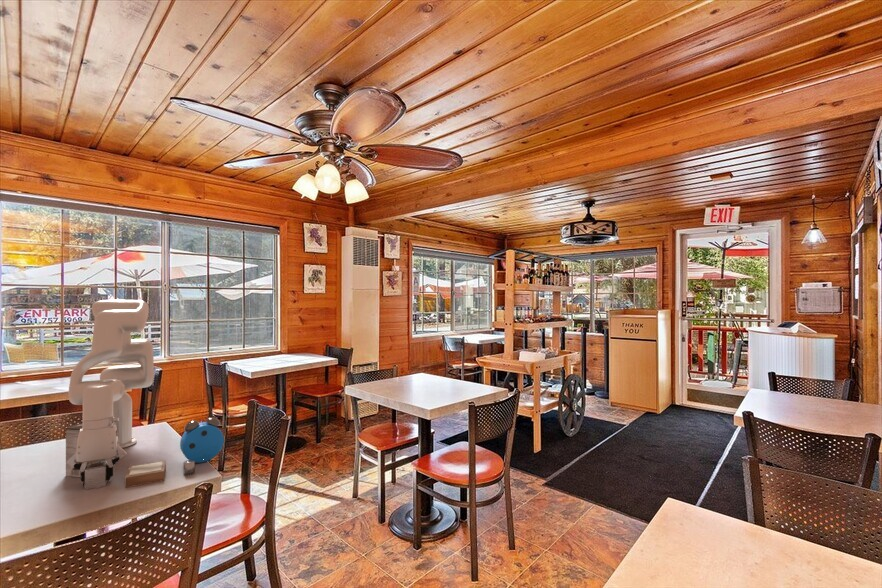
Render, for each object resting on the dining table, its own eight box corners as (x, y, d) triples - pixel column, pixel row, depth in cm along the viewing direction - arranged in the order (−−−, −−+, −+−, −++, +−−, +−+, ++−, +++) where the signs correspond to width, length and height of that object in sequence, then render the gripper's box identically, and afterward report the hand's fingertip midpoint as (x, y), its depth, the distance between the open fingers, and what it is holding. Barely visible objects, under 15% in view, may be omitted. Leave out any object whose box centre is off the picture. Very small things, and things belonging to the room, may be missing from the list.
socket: (183, 473, 141) (183, 461, 141) (194, 471, 143) (194, 459, 143) (183, 476, 139) (183, 464, 139) (194, 474, 140) (194, 462, 140)
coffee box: (92, 465, 148) (93, 419, 148) (107, 467, 147) (108, 420, 147) (64, 476, 139) (65, 427, 139) (80, 477, 138) (80, 428, 138)
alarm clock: (219, 453, 159) (220, 414, 159) (224, 458, 154) (224, 417, 154) (179, 462, 150) (179, 420, 151) (182, 467, 146) (183, 424, 146)
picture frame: (129, 475, 139) (129, 465, 139) (165, 469, 144) (165, 460, 144) (125, 487, 130) (125, 476, 130) (163, 480, 136) (163, 470, 136)
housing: (84, 489, 129) (84, 469, 129) (89, 481, 135) (89, 462, 135) (105, 486, 131) (105, 466, 132) (109, 478, 137) (109, 459, 138)
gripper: (132, 416, 141) (131, 471, 141) (65, 424, 132) (64, 482, 132) (129, 422, 135) (129, 479, 134) (59, 430, 126) (58, 492, 126)
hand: (97, 480), depth 133 cm, fingers closed on housing, 5 cm apart
